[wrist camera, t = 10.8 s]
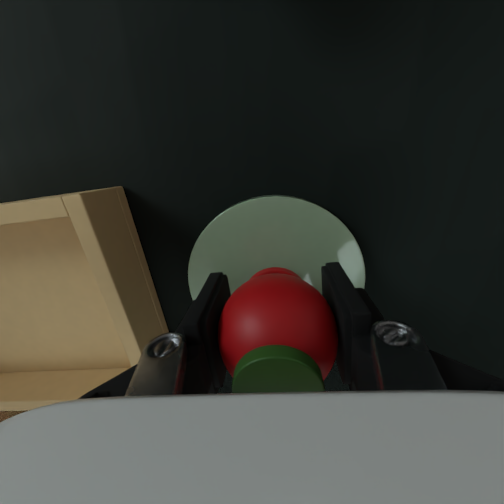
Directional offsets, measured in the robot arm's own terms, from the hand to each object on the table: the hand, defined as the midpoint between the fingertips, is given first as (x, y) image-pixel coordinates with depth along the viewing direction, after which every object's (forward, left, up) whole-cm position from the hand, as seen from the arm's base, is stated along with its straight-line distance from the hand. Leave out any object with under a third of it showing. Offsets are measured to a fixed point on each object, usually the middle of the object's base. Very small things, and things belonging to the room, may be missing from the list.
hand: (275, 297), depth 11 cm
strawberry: (0, 0, 0) cm, 0 cm away
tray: (-15, 0, -2) cm, 15 cm away
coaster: (0, 0, -2) cm, 2 cm away
